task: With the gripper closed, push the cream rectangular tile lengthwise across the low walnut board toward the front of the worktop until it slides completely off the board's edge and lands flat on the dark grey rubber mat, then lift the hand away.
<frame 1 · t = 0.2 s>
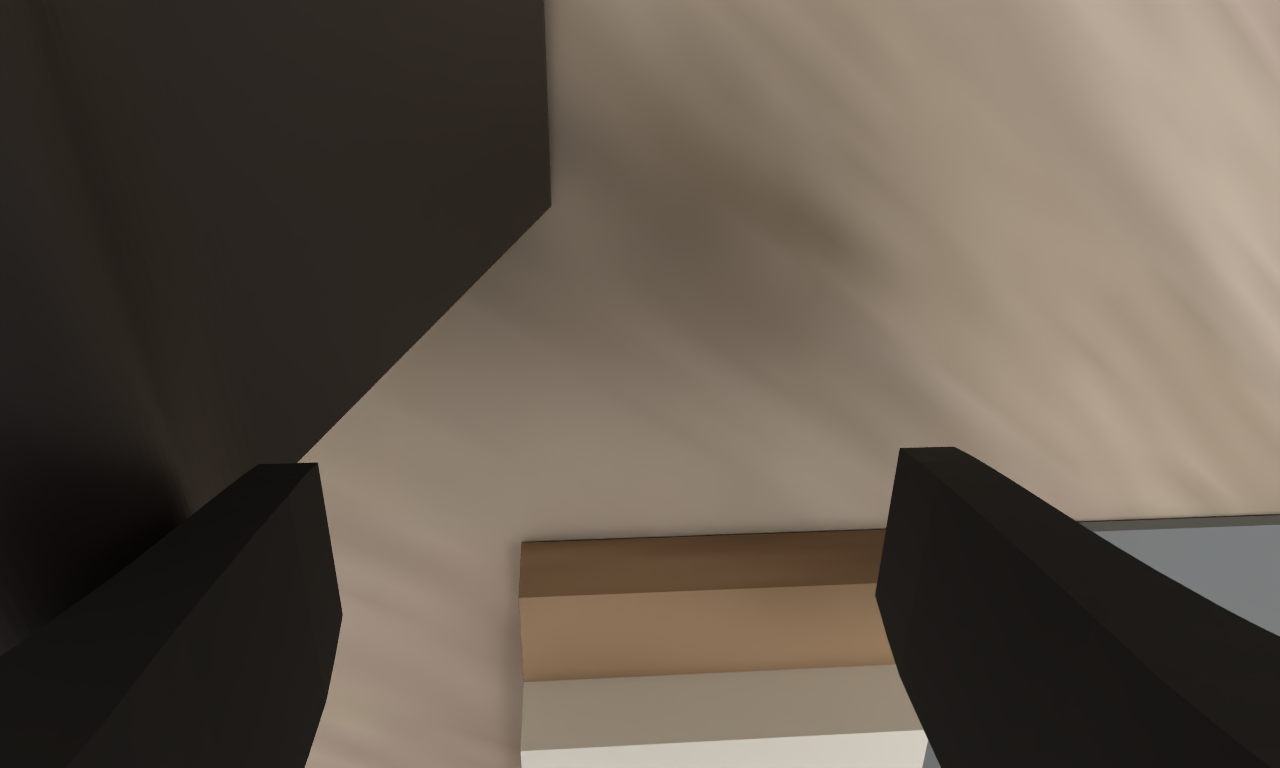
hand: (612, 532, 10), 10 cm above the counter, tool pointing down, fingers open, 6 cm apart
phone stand: (293, 34, 17), on the counter, touching gripper
cream rectangular tile: (709, 762, 23), point 2 cm above the counter, touching brown block
brown block: (716, 700, 25), on the counter
mat: (1083, 682, 26), on the counter
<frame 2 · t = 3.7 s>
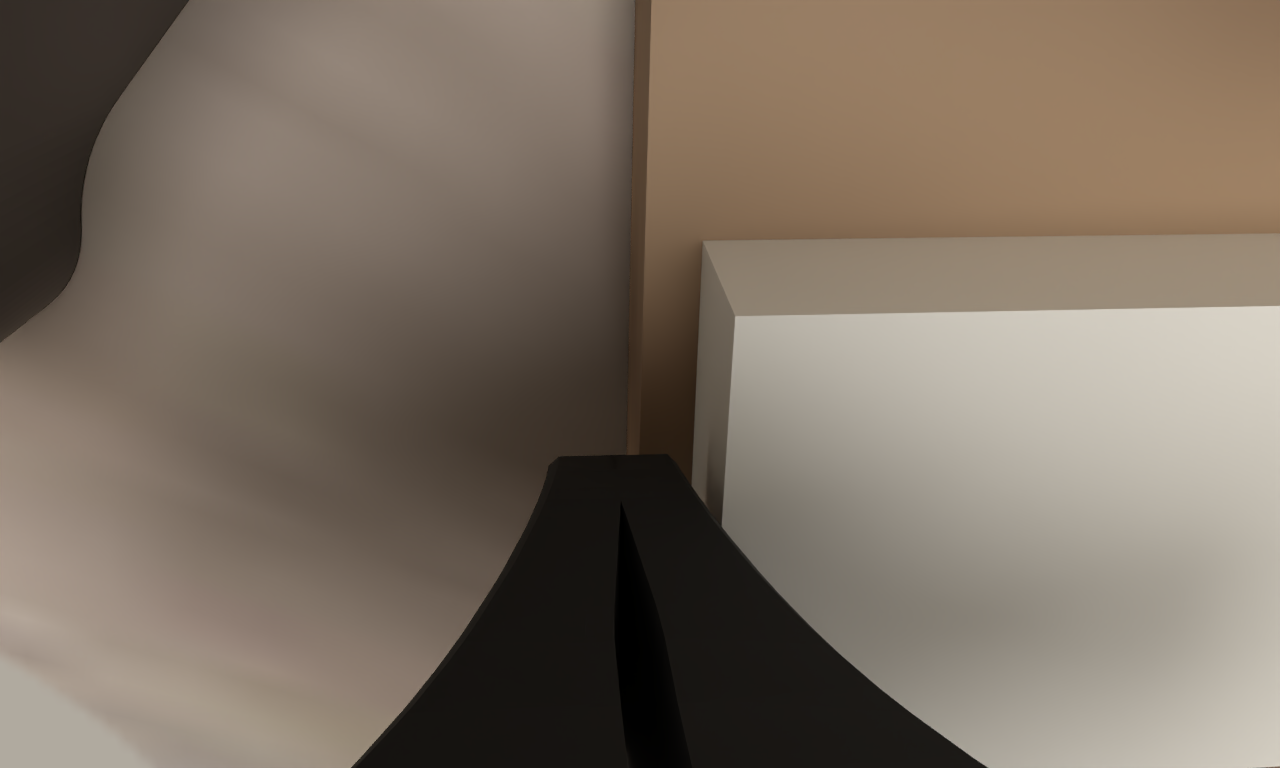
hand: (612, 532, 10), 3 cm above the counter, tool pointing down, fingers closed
cream rectangular tile: (1057, 471, 11), point 2 cm above the counter, touching brown block
brown block: (980, 398, 13), on the counter
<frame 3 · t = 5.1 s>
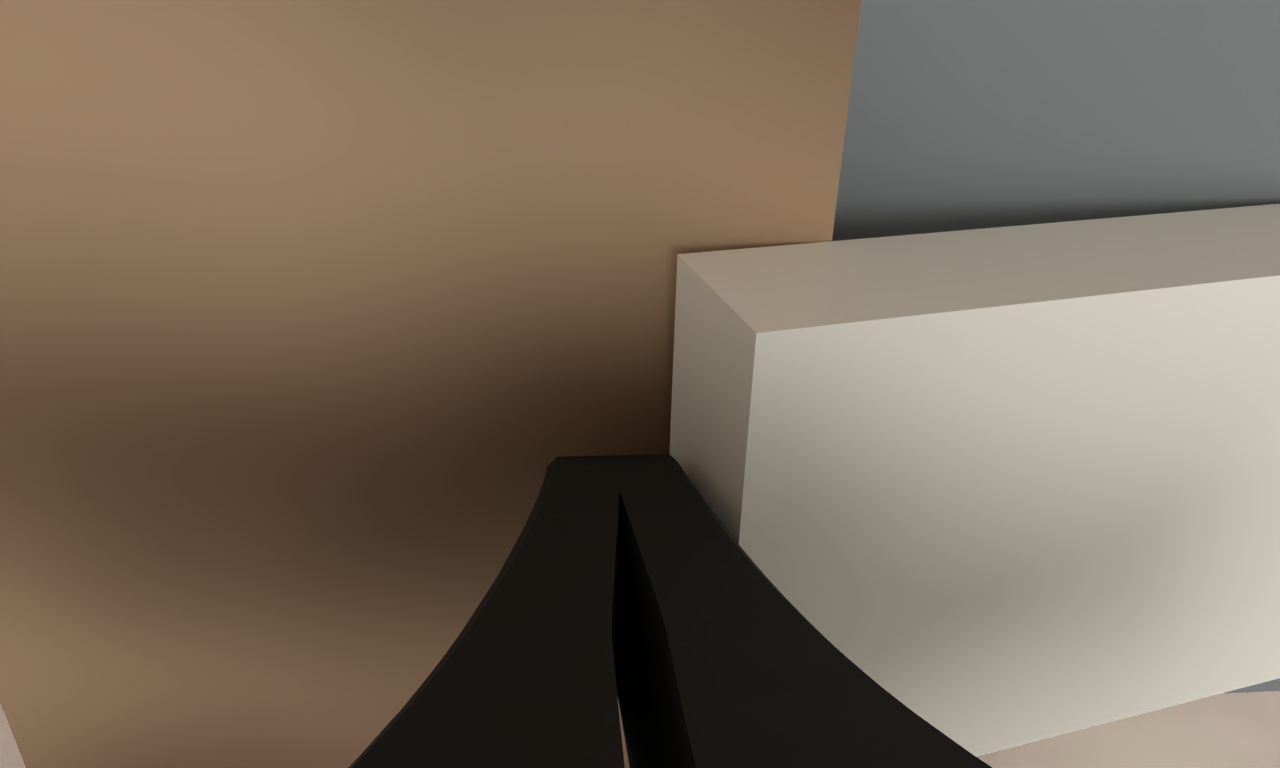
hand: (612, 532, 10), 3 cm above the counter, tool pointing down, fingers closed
cream rectangular tile: (1001, 449, 12), point 1 cm above the counter, tilted 12°, touching brown block
brown block: (403, 410, 13), on the counter
mat: (1133, 397, 13), on the counter
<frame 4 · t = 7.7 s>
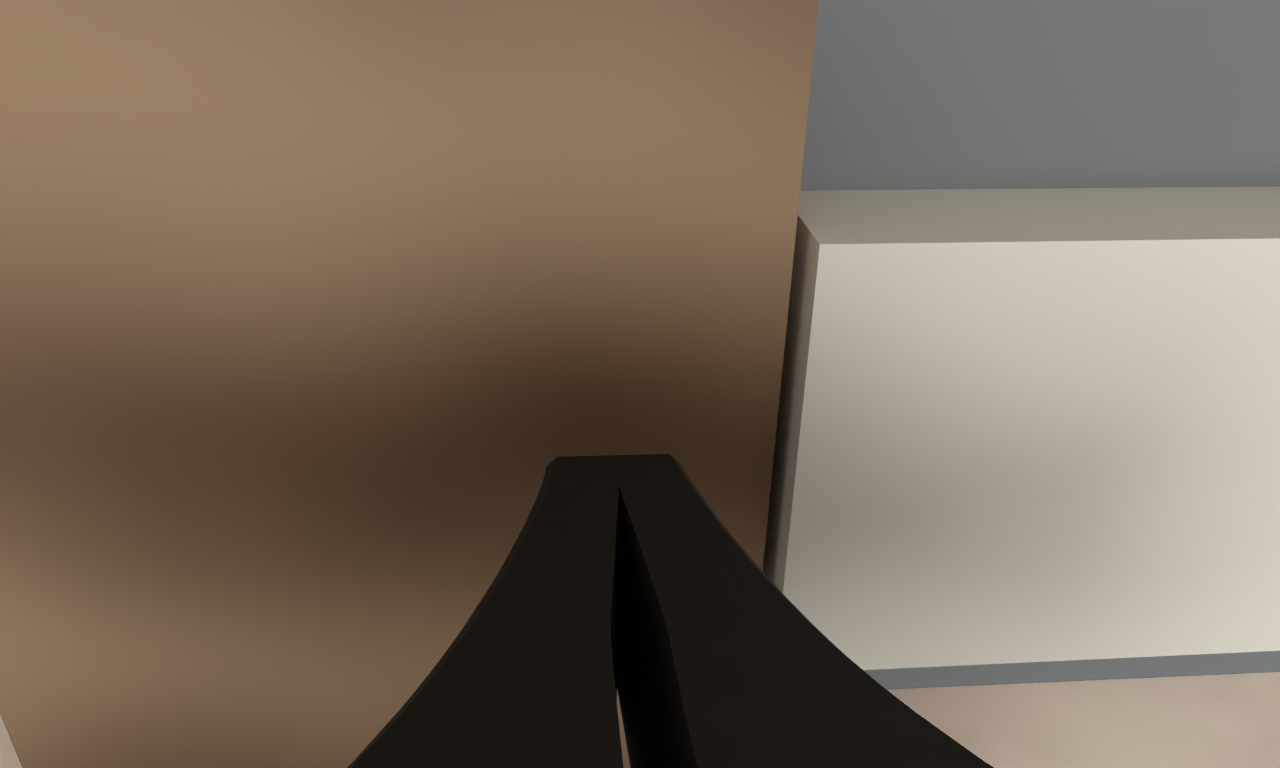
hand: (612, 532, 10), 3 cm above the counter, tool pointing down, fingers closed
cream rectangular tile: (1077, 397, 13), resting on mat
brown block: (383, 395, 13), on the counter
mat: (1105, 381, 14), on the counter
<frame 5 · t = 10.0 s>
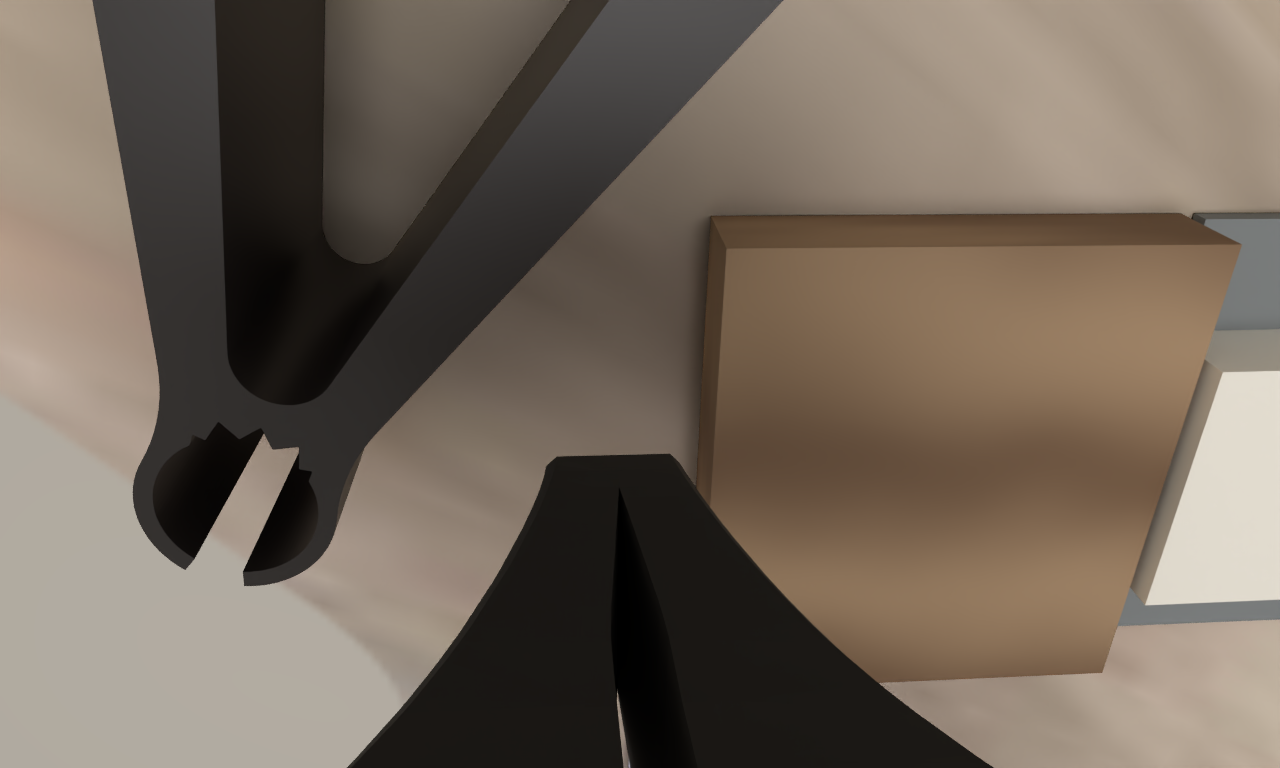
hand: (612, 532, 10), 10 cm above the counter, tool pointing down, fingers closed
brown block: (910, 443, 22), on the counter
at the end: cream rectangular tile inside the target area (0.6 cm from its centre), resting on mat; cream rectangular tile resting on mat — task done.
